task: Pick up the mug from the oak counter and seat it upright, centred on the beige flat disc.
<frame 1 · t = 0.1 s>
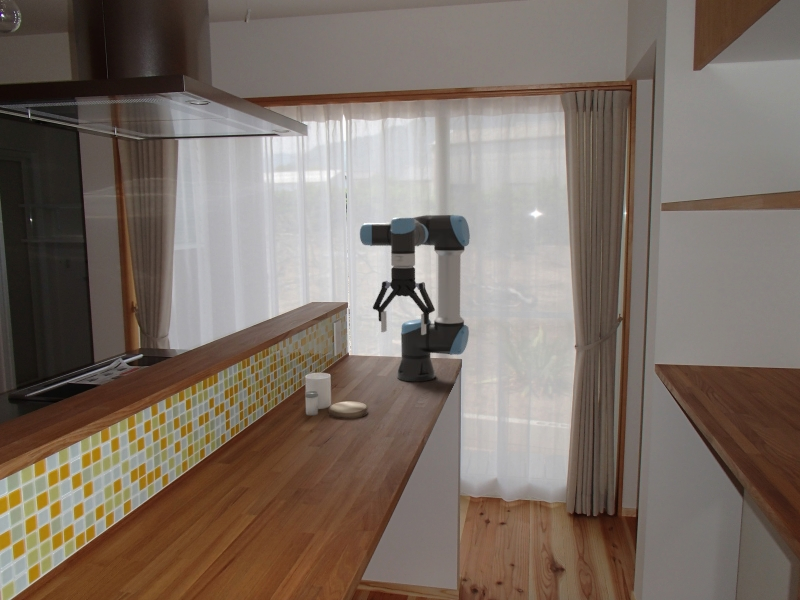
hand: (403, 332, 210), 28 cm above the worktop, fingers open, 13 cm apart
spice jar: (312, 413, 218), on the worktop
beige flat disc: (348, 412, 219), on the worktop
mug: (320, 405, 228), on the worktop
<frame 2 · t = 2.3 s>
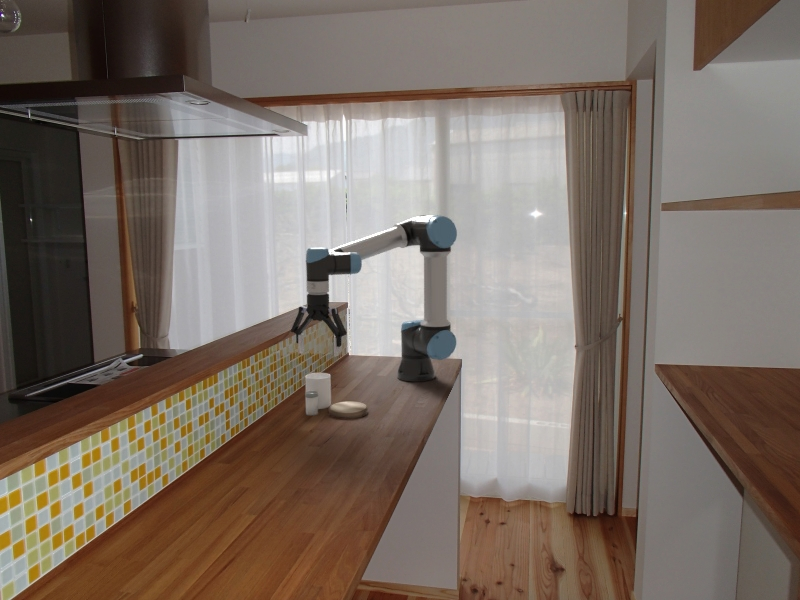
hand: (318, 354, 226), 18 cm above the worktop, fingers open, 13 cm apart
nothing on the worktop moved.
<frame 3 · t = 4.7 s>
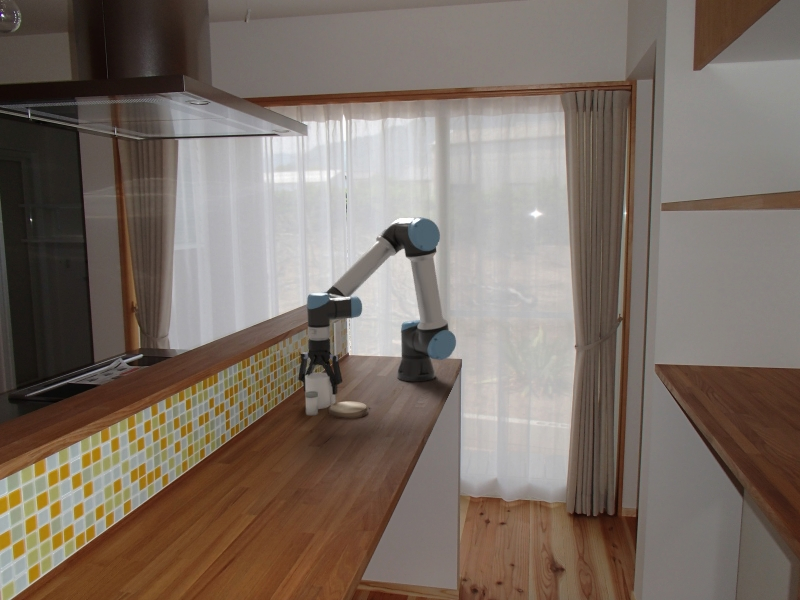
hand: (320, 401, 228), 1 cm above the worktop, fingers closed on mug, 9 cm apart
mug: (320, 404, 228), on the worktop, touching gripper
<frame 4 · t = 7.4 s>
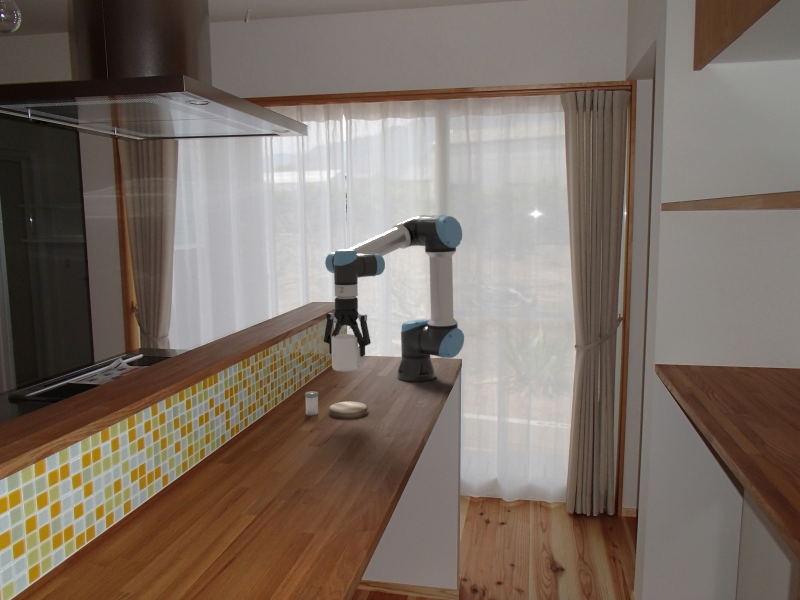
hand: (347, 364, 217), 16 cm above the worktop, fingers closed on mug, 9 cm apart
mug: (347, 368, 217), point 15 cm above the worktop, touching gripper
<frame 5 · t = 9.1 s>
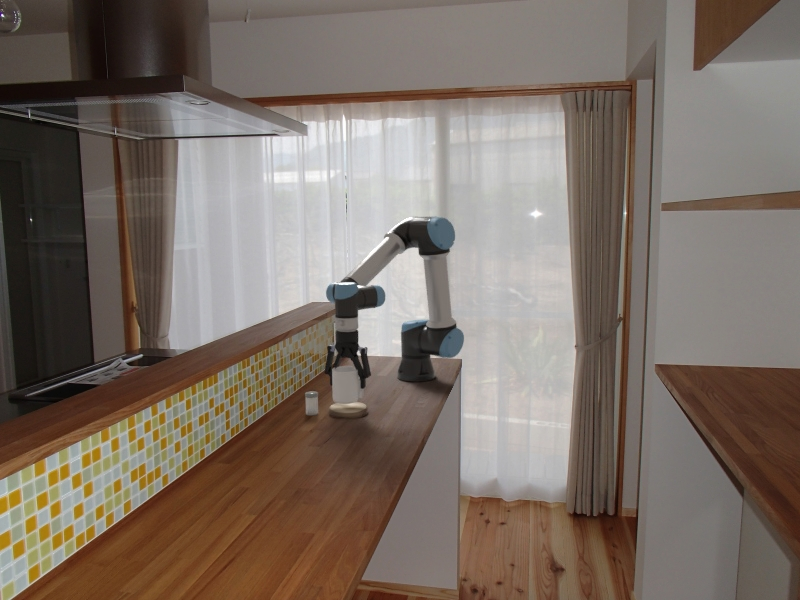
hand: (347, 396, 218), 6 cm above the worktop, fingers closed on mug, 9 cm apart
mug: (347, 399, 218), point 4 cm above the worktop, touching gripper
when the fingers open (4 cm above the worktop, at t = 10.3 s): mug drops 1 cm, resting on beige flat disc.
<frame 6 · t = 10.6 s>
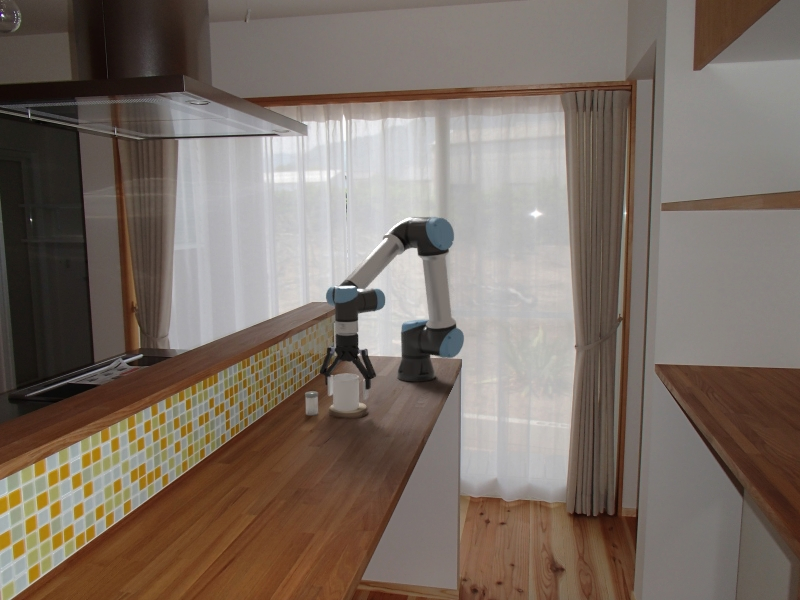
hand: (348, 396, 218), 5 cm above the worktop, fingers open, 12 cm apart
mug: (348, 407, 219), point 2 cm above the worktop, touching beige flat disc
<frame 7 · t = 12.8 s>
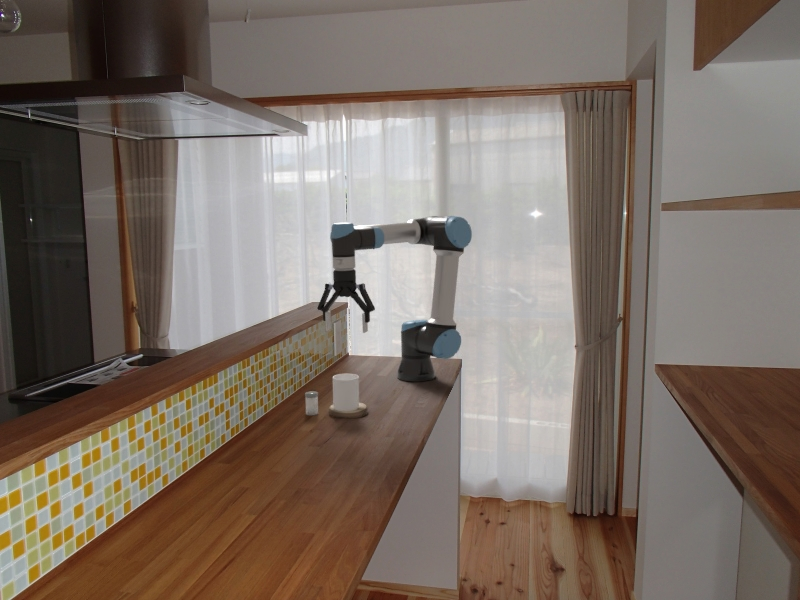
hand: (346, 331, 223), 26 cm above the worktop, fingers open, 13 cm apart
nothing on the worktop moved.
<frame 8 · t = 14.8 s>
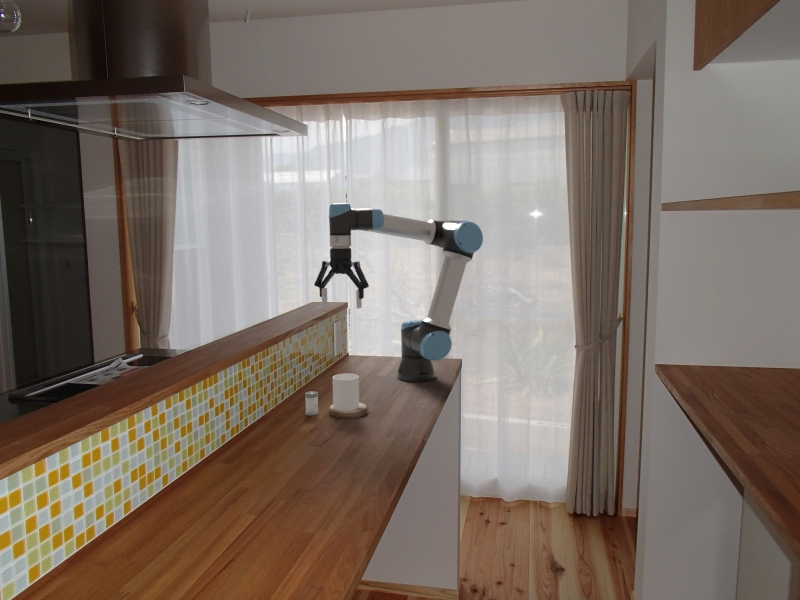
hand: (341, 307, 234), 33 cm above the worktop, fingers open, 13 cm apart
nothing on the worktop moved.
at the end: mug 0.0 cm from the beige flat disc (horizontally); mug touching beige flat disc; mug tilted 0° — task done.
